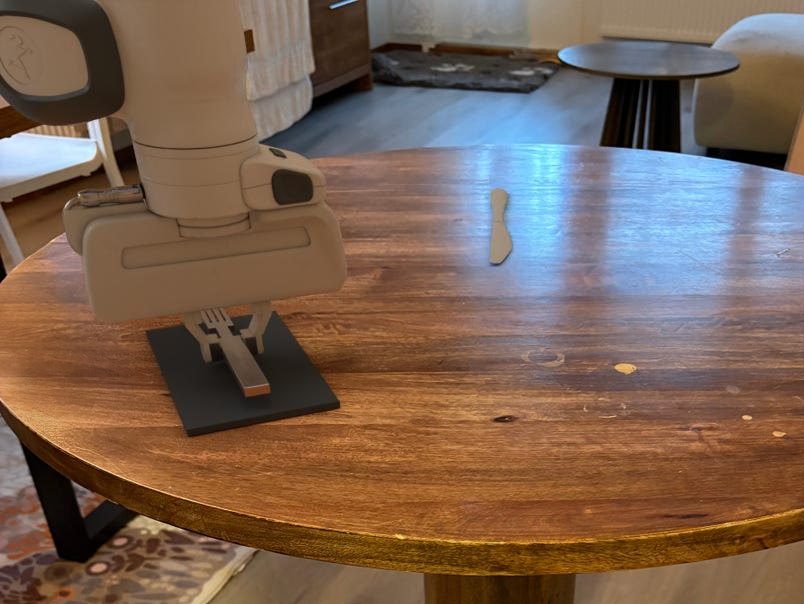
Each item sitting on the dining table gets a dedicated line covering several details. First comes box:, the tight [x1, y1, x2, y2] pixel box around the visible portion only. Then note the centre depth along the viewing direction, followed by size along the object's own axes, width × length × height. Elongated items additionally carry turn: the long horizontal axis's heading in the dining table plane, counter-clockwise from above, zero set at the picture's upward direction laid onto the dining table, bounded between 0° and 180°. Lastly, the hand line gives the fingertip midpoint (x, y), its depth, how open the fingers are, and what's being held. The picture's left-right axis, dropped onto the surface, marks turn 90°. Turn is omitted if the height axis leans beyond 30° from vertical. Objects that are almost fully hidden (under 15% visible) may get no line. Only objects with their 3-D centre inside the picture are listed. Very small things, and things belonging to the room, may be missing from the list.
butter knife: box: [488, 188, 513, 265], centre depth 107 cm, size 1×27×3 cm
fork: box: [200, 308, 271, 397], centre depth 76 cm, size 18×2×1 cm, turn 24°
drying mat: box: [144, 310, 341, 437], centre depth 77 cm, size 20×12×1 cm, turn 24°
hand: (233, 356), depth 77 cm, fingers closed on fork
